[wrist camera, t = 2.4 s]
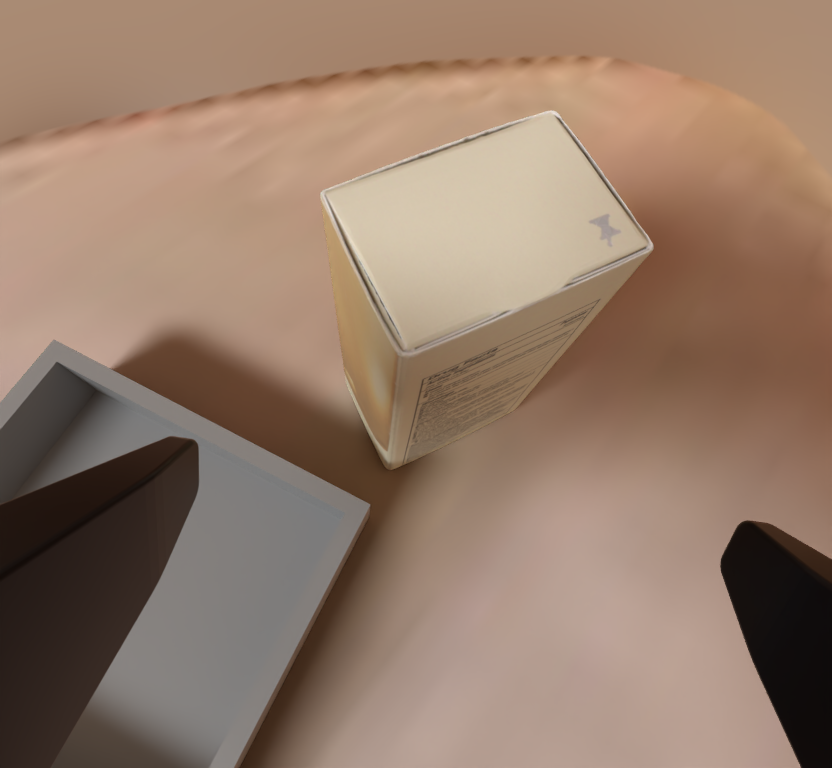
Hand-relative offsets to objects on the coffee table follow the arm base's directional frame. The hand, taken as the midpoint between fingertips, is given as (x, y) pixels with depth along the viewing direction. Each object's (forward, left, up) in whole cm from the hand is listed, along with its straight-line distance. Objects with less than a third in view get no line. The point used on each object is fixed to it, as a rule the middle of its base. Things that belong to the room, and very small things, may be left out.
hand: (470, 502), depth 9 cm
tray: (+8, +6, -12) cm, 16 cm away
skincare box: (+2, -6, -13) cm, 14 cm away
